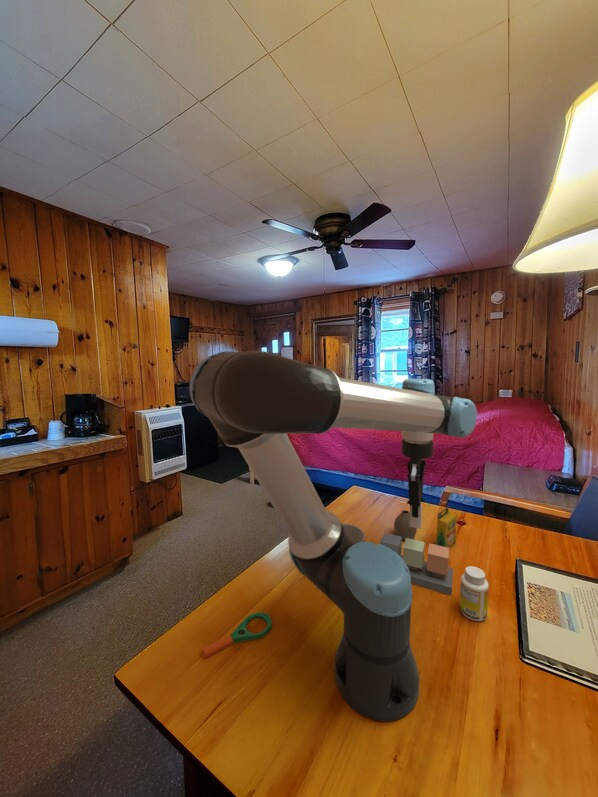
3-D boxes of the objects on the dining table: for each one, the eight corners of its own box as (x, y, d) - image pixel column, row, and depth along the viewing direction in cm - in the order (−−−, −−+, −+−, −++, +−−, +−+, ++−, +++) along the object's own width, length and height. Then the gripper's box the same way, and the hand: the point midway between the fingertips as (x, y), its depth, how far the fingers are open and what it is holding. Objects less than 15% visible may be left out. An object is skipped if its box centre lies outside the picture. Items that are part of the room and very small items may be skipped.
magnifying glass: (263, 612, 75) (263, 606, 75) (276, 630, 70) (276, 623, 70) (199, 646, 67) (198, 639, 67) (208, 669, 62) (208, 661, 62)
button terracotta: (447, 575, 80) (448, 558, 80) (426, 570, 82) (427, 553, 82) (448, 564, 84) (449, 548, 84) (428, 559, 87) (429, 543, 86)
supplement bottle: (478, 603, 76) (480, 563, 75) (492, 622, 71) (495, 580, 69) (454, 603, 76) (456, 563, 75) (466, 623, 71) (469, 580, 69)
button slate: (398, 562, 86) (398, 546, 85) (380, 557, 88) (380, 541, 87) (401, 552, 90) (401, 536, 89) (384, 548, 92) (384, 532, 92)
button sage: (421, 568, 83) (422, 552, 82) (402, 563, 85) (403, 547, 85) (424, 558, 87) (424, 542, 87) (405, 553, 89) (406, 537, 89)
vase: (398, 529, 109) (398, 504, 107) (419, 535, 105) (419, 510, 103) (390, 539, 103) (391, 513, 102) (412, 546, 99) (413, 519, 98)
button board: (451, 595, 79) (452, 574, 78) (374, 572, 88) (374, 553, 87) (452, 575, 86) (453, 556, 85) (381, 556, 95) (381, 538, 94)
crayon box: (445, 554, 95) (446, 517, 93) (435, 549, 97) (436, 513, 95) (455, 544, 100) (457, 508, 98) (446, 540, 102) (447, 505, 100)
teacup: (362, 547, 99) (362, 523, 98) (366, 571, 88) (366, 544, 87) (317, 546, 100) (317, 522, 99) (315, 569, 90) (315, 542, 88)
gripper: (430, 448, 74) (427, 543, 78) (435, 434, 86) (433, 517, 89) (397, 445, 78) (396, 535, 81) (406, 432, 89) (405, 512, 92)
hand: (415, 526), depth 85 cm, fingers closed
